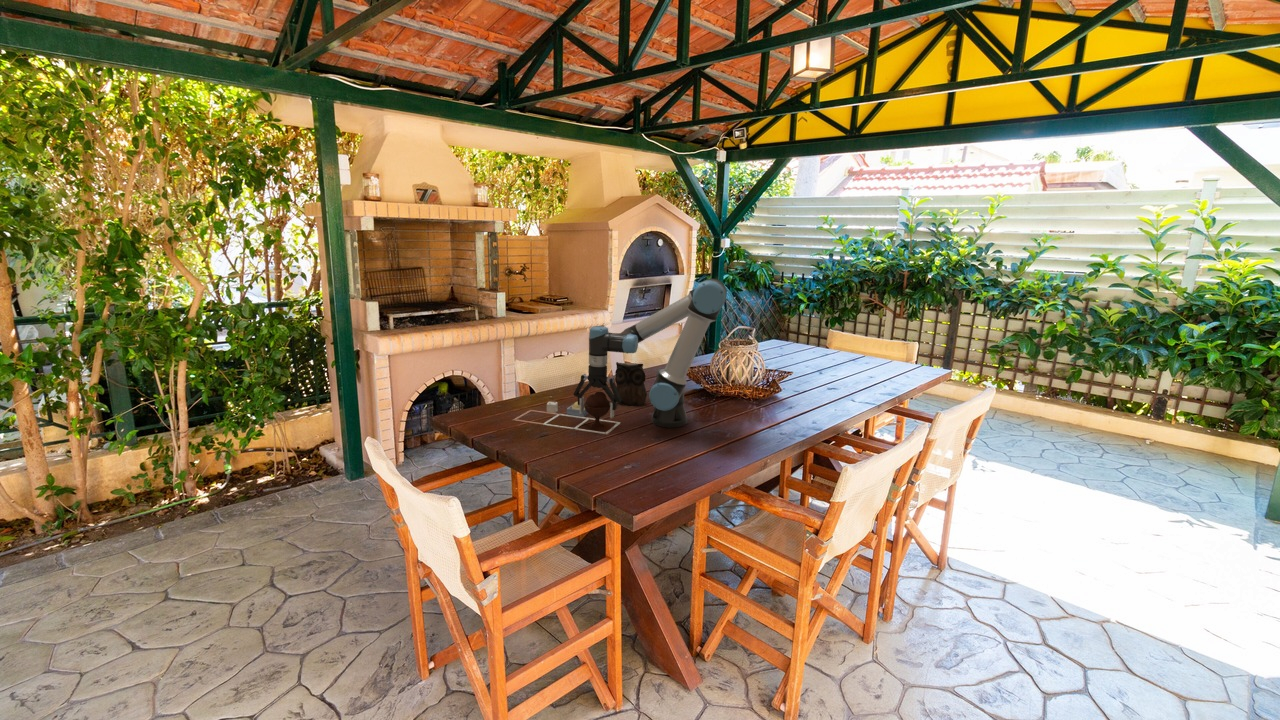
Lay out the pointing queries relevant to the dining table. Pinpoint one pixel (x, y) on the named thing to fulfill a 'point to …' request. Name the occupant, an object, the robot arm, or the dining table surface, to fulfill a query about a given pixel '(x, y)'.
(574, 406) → the dome
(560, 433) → the dining table surface
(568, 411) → the base
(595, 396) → the ice cream bowl
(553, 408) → the die
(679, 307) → the robot arm
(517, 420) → the track
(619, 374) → the owl
